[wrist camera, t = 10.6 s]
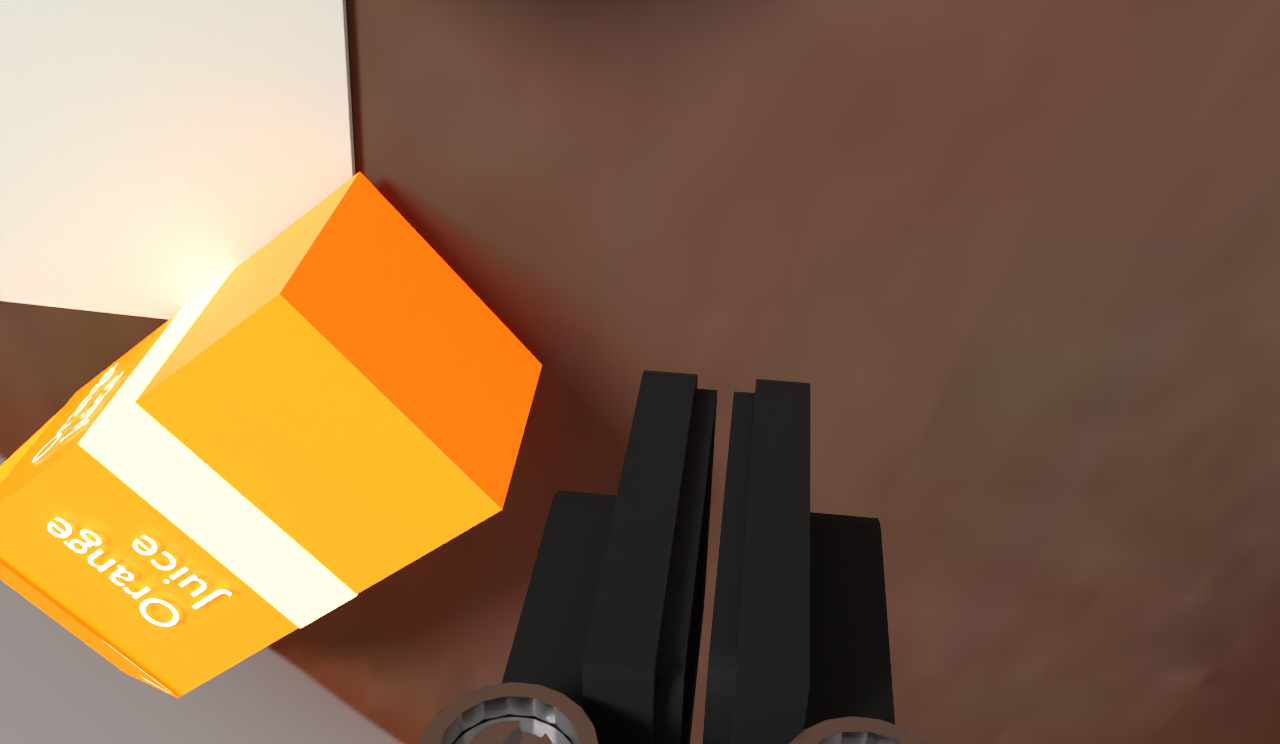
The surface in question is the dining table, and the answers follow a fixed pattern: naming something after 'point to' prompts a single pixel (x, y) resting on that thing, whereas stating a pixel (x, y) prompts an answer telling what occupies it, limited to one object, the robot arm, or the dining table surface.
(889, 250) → the dining table surface
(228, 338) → the orange juice
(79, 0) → the mat
